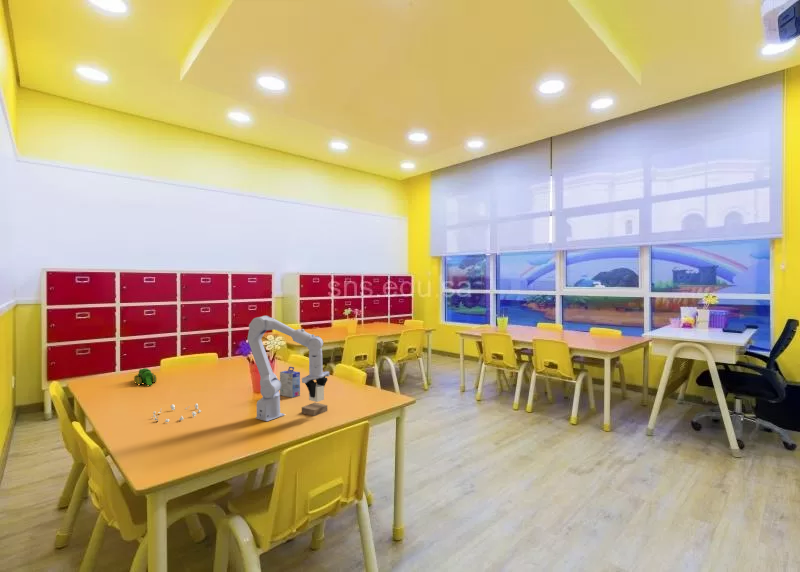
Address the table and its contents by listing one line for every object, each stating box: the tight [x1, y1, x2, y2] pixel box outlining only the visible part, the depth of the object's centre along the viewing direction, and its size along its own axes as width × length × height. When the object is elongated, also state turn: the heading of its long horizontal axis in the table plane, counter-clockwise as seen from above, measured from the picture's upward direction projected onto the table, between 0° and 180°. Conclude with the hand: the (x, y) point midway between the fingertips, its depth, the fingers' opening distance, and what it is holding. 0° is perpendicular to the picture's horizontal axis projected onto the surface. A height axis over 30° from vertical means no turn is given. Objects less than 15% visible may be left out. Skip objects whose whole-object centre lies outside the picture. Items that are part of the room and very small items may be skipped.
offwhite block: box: [308, 384, 325, 403], centre depth 172 cm, size 4×5×6 cm
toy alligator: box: [133, 367, 158, 386], centre depth 237 cm, size 10×32×9 cm, turn 43°
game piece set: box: [150, 403, 202, 423], centre depth 176 cm, size 19×20×4 cm
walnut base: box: [301, 402, 328, 417], centre depth 177 cm, size 8×8×3 cm
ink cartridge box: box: [279, 366, 301, 398], centre depth 204 cm, size 10×6×14 cm, turn 58°
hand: (316, 395), depth 172 cm, fingers closed on offwhite block, 4 cm apart
